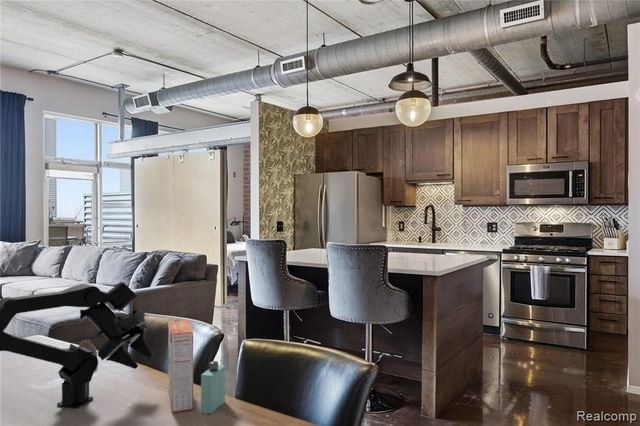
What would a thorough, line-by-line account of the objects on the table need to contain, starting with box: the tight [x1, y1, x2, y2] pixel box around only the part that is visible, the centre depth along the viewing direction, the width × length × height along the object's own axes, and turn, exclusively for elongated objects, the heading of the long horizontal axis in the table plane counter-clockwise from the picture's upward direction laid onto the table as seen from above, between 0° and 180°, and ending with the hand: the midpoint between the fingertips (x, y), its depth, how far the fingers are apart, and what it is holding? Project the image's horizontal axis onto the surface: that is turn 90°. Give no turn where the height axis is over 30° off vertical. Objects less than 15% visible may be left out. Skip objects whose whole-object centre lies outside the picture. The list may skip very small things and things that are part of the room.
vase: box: [77, 339, 98, 358], centre depth 157 cm, size 7×7×9 cm
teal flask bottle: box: [200, 360, 226, 414], centre depth 126 cm, size 8×3×12 cm, turn 166°
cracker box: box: [167, 319, 194, 413], centre depth 129 cm, size 14×6×21 cm, turn 21°
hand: (144, 362), depth 132 cm, fingers open, 9 cm apart
